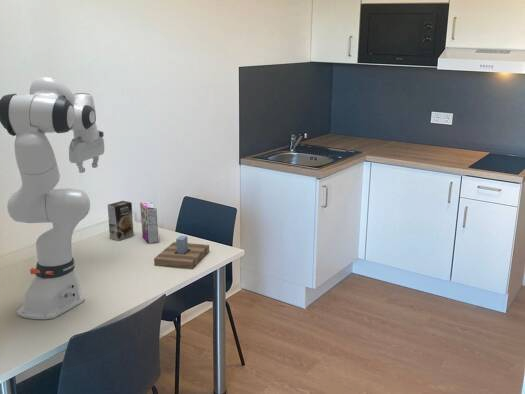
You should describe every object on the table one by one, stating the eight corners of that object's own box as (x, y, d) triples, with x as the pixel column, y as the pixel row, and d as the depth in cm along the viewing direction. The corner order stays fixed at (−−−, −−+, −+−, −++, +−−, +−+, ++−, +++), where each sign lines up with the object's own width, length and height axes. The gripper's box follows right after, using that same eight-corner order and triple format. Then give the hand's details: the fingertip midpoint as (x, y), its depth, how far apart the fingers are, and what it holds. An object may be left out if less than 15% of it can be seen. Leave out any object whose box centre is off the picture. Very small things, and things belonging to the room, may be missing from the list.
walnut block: (192, 269, 219) (191, 262, 218) (154, 265, 223) (154, 258, 222) (209, 251, 238) (209, 244, 237) (174, 248, 242) (173, 241, 241)
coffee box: (118, 241, 251) (115, 206, 247) (109, 238, 255) (106, 204, 250) (134, 236, 258) (132, 202, 254) (125, 233, 262) (122, 200, 257)
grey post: (184, 260, 228) (183, 239, 226) (177, 260, 229) (176, 239, 226) (188, 256, 232) (187, 236, 230) (181, 256, 233) (180, 235, 231)
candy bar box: (141, 236, 257) (139, 202, 252) (152, 235, 259) (150, 201, 254) (147, 244, 247) (145, 208, 243) (158, 242, 249) (157, 207, 245)
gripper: (77, 139, 208) (81, 176, 211) (106, 131, 227) (108, 165, 230) (62, 139, 209) (66, 175, 213) (92, 131, 228) (94, 164, 232)
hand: (88, 169), depth 222 cm, fingers open, 8 cm apart
